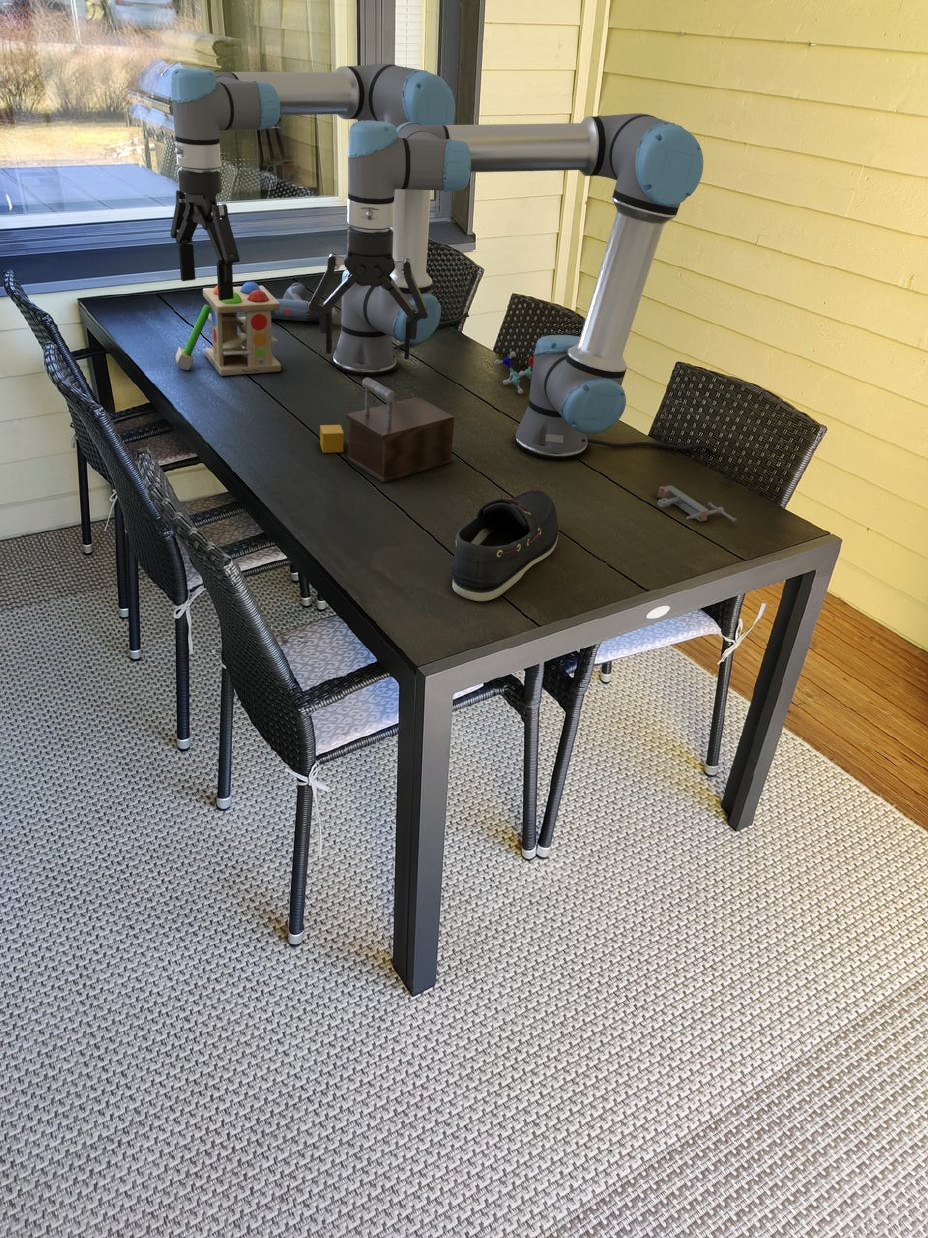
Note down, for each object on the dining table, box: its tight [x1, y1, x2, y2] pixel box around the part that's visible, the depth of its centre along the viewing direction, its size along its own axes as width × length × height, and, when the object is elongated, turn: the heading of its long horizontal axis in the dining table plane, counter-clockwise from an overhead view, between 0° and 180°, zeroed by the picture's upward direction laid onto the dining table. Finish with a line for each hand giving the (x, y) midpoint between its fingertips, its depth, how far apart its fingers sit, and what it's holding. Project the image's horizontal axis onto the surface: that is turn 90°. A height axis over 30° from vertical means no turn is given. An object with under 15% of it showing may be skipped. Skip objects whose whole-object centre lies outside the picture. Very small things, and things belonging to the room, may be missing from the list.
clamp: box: [656, 485, 738, 523], centre depth 187 cm, size 15×2×10 cm
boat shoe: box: [450, 489, 559, 602], centre depth 165 cm, size 13×33×10 cm, turn 147°
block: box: [319, 424, 345, 454], centre depth 197 cm, size 4×4×4 cm
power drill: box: [271, 282, 338, 322], centre depth 265 cm, size 5×19×20 cm
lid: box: [345, 376, 455, 440], centre depth 188 cm, size 18×12×8 cm, turn 131°
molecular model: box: [494, 351, 534, 395], centre depth 232 cm, size 12×10×10 cm
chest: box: [347, 420, 455, 483], centre depth 193 cm, size 17×12×9 cm
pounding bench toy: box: [174, 281, 282, 377], centre depth 225 cm, size 23×14×18 cm, turn 116°
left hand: (206, 289), depth 186 cm, fingers open, 13 cm apart
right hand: (368, 354), depth 172 cm, fingers open, 13 cm apart
